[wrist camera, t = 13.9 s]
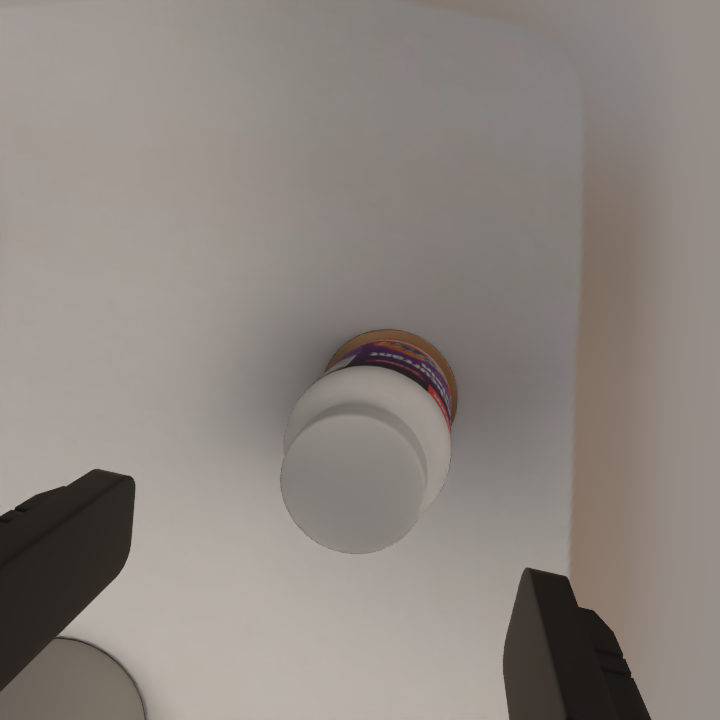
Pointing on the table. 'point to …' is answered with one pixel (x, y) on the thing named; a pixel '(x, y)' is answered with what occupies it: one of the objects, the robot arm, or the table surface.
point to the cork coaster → (406, 338)
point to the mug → (71, 687)
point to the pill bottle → (368, 447)
